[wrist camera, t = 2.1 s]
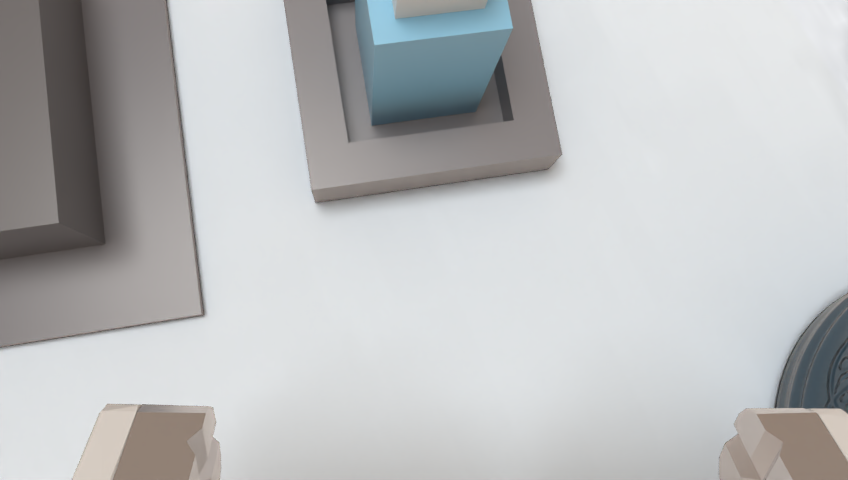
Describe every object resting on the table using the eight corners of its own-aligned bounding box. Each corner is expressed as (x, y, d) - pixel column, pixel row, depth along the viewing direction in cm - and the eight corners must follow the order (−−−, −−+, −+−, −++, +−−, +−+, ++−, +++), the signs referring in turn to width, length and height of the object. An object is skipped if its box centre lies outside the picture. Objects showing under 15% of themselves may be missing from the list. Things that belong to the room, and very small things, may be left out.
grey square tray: (547, 169, 28) (561, 154, 26) (315, 202, 27) (311, 190, 25) (505, -45, 29) (516, -74, 27) (282, -20, 28) (276, -48, 26)
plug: (475, 111, 27) (534, -20, 18) (371, 125, 27) (376, -1, 18) (457, 14, 28) (504, -162, 19) (355, 26, 28) (351, -148, 18)
